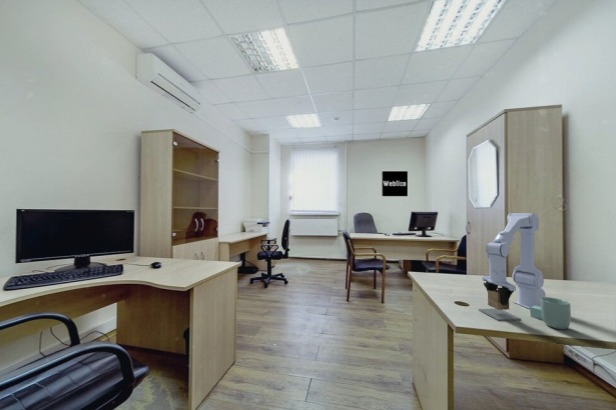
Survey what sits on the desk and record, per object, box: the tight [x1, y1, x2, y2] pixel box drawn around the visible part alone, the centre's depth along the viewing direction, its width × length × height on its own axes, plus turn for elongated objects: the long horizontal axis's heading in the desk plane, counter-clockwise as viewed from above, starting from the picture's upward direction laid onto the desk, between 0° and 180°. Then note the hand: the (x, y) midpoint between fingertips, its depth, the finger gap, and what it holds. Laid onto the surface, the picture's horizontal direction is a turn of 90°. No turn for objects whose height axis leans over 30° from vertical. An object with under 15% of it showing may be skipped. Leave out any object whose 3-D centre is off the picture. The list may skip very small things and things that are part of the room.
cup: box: [541, 296, 572, 330], centre depth 89 cm, size 8×8×10 cm
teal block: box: [529, 306, 543, 321], centre depth 97 cm, size 4×4×4 cm
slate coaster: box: [478, 308, 522, 322], centre depth 100 cm, size 10×10×1 cm
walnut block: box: [487, 289, 510, 311], centre depth 100 cm, size 5×5×6 cm
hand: (498, 302), depth 100 cm, fingers closed on walnut block, 5 cm apart
